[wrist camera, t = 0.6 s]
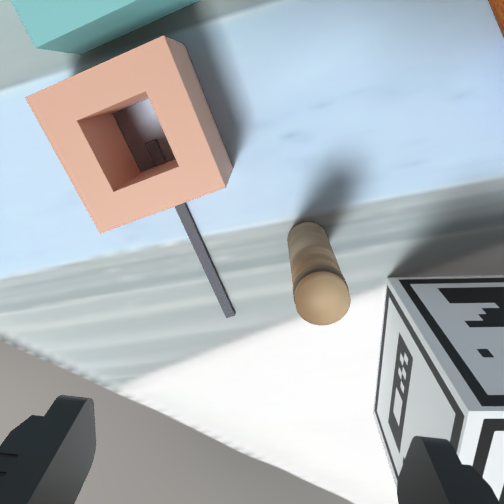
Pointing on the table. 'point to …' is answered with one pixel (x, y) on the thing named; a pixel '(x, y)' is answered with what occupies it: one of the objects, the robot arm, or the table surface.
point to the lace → (195, 239)
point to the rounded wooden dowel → (316, 276)
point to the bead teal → (88, 20)
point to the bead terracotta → (114, 144)
